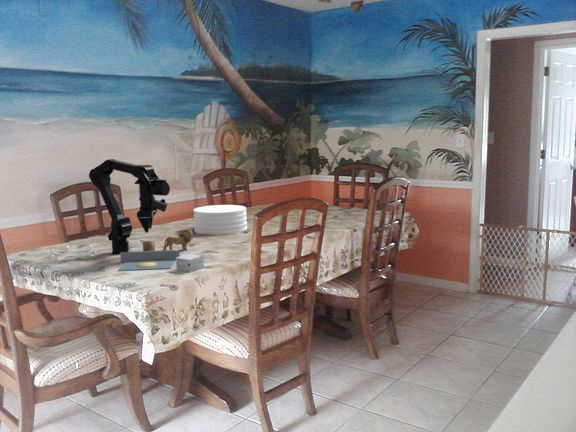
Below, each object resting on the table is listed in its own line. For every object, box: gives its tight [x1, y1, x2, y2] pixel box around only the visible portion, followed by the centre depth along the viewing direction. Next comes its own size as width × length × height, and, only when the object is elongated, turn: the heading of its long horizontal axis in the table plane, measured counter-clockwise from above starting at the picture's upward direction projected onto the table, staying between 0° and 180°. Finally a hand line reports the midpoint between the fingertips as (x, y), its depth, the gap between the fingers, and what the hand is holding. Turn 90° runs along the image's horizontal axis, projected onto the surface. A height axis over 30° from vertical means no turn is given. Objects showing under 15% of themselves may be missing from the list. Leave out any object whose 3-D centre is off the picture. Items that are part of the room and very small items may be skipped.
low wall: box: [119, 249, 181, 263], centre depth 232 cm, size 24×1×4 cm, turn 95°
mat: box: [117, 260, 175, 272], centre depth 223 cm, size 20×12×1 cm, turn 95°
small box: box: [175, 253, 205, 273], centre depth 217 cm, size 8×8×5 cm
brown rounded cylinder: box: [142, 240, 156, 251], centre depth 241 cm, size 5×5×6 cm
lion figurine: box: [161, 229, 194, 251], centre depth 249 cm, size 15×5×9 cm, turn 120°
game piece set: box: [49, 244, 97, 261], centre depth 245 cm, size 19×20×4 cm
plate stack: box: [193, 204, 248, 236], centre depth 297 cm, size 28×28×12 cm
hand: (148, 230), depth 240 cm, fingers open, 9 cm apart
